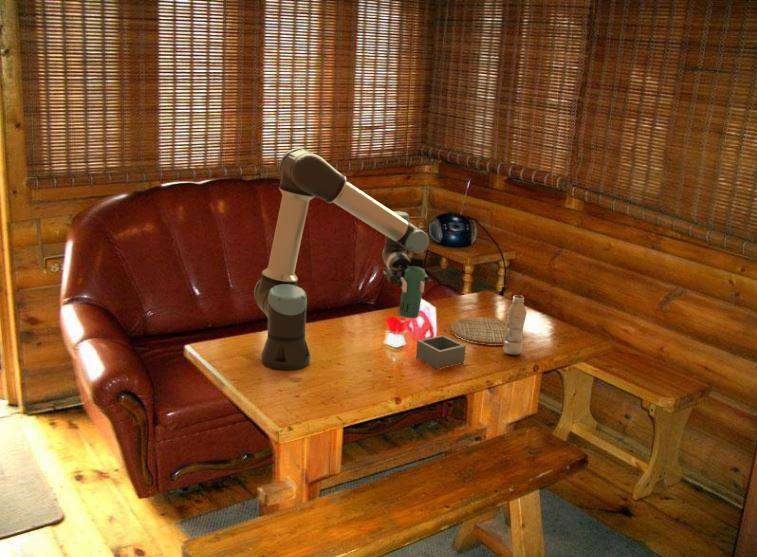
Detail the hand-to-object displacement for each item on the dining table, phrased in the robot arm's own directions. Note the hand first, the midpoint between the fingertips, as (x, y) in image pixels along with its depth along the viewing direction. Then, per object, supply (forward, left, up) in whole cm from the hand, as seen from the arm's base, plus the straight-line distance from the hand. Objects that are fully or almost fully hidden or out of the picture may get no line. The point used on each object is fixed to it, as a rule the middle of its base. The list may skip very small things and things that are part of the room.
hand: (414, 287), depth 244 cm
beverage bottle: (-5, +2, -12) cm, 13 cm away
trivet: (-16, +48, -29) cm, 58 cm away
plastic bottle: (+3, +42, -28) cm, 51 cm away
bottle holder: (-4, +16, -28) cm, 33 cm away
